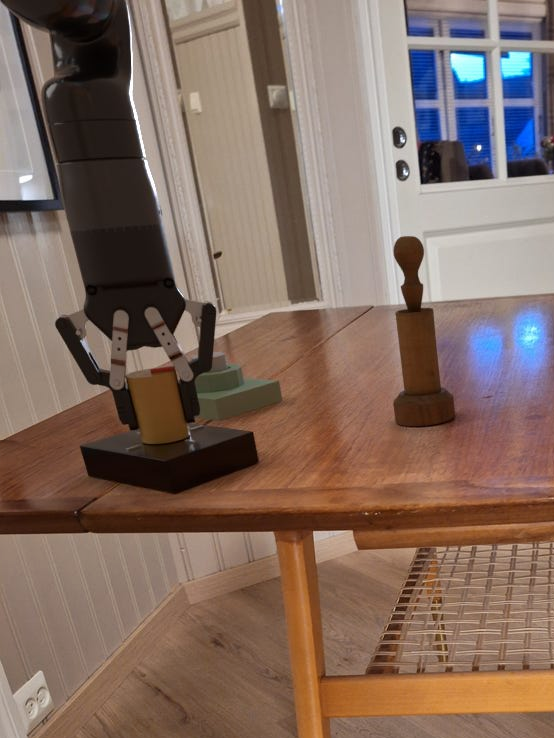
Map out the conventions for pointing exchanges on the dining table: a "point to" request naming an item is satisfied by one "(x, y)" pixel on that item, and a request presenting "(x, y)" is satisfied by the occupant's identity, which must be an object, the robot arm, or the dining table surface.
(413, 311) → the mortar and pestle
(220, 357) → the grey push button
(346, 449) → the dining table surface
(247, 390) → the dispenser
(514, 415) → the dining table surface
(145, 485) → the panel
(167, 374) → the lock knob
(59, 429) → the dining table surface
